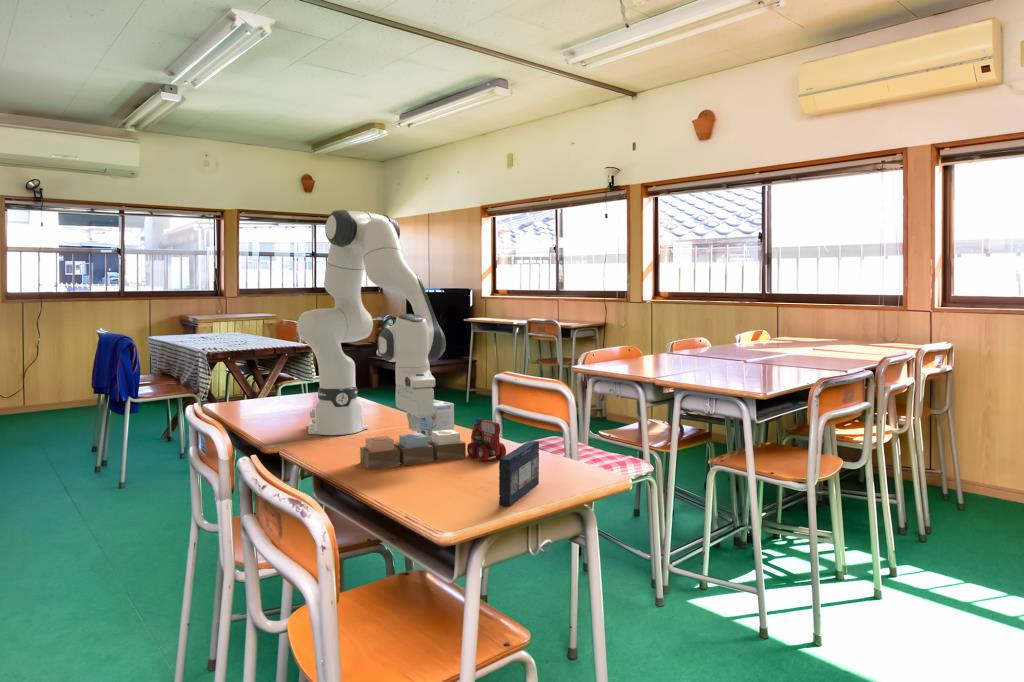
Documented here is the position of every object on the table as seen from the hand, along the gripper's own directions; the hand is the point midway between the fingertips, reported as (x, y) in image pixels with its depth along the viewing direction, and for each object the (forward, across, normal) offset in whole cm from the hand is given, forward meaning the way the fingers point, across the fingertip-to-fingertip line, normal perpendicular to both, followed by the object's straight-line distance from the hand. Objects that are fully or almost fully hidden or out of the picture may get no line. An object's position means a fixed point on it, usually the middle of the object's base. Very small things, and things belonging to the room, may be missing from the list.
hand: (413, 429), depth 178 cm
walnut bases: (+8, 0, 0) cm, 8 cm away
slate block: (+6, 0, 0) cm, 6 cm away
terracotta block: (+6, 0, -9) cm, 11 cm away
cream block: (+6, 0, +9) cm, 10 cm away
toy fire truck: (+8, +6, +18) cm, 21 cm away
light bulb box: (+8, -24, +15) cm, 30 cm away
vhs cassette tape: (+8, +40, +11) cm, 42 cm away
